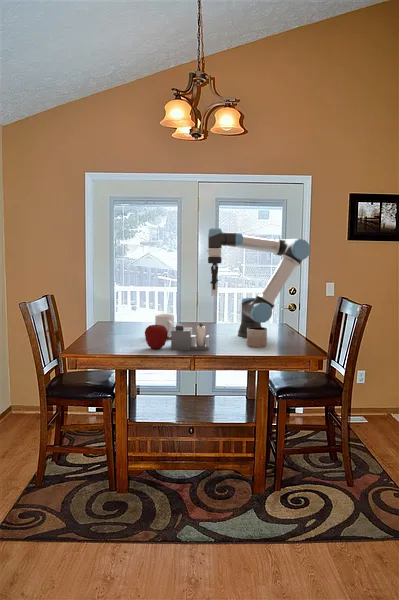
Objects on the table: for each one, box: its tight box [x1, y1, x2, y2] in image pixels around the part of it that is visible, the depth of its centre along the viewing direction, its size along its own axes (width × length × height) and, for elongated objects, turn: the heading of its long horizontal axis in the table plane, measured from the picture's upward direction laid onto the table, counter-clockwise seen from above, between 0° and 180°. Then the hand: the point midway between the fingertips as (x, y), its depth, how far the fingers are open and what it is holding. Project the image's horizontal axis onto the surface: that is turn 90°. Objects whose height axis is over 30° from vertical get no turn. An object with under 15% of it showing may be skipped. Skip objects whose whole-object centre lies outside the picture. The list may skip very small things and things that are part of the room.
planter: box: [246, 326, 268, 348], centre depth 260 cm, size 11×11×10 cm
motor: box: [166, 324, 210, 351], centre depth 251 cm, size 22×12×12 cm, turn 87°
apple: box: [144, 324, 168, 350], centre depth 248 cm, size 12×12×13 cm
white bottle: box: [196, 322, 206, 346], centre depth 251 cm, size 4×4×12 cm
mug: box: [154, 313, 175, 336], centre depth 278 cm, size 15×11×13 cm
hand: (214, 294), depth 268 cm, fingers open, 13 cm apart
